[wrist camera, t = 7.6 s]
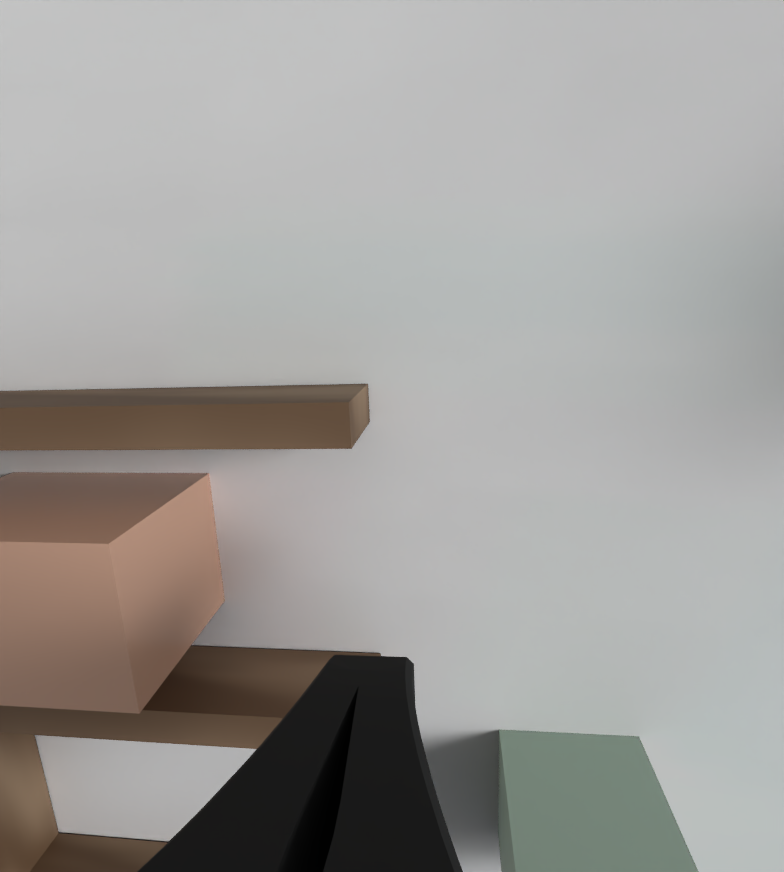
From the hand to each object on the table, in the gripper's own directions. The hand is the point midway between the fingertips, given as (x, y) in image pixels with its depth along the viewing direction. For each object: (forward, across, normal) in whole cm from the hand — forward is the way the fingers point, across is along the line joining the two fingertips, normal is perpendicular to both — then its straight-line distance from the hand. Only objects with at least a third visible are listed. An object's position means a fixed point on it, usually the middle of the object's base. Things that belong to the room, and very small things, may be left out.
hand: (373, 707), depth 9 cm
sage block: (+6, -5, +8) cm, 11 cm away
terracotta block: (+6, +8, 0) cm, 10 cm away
